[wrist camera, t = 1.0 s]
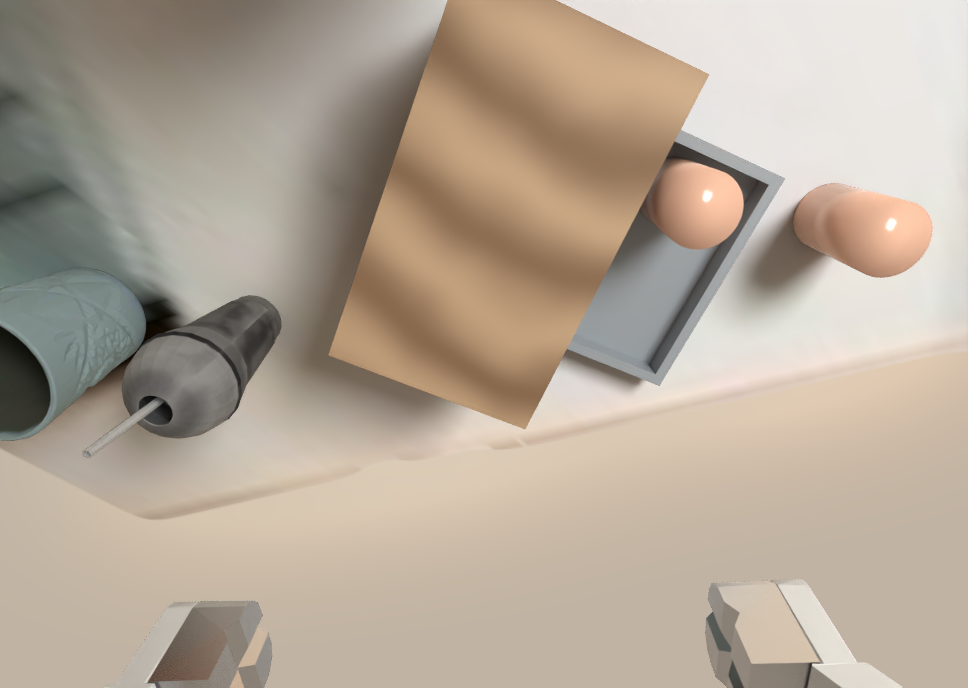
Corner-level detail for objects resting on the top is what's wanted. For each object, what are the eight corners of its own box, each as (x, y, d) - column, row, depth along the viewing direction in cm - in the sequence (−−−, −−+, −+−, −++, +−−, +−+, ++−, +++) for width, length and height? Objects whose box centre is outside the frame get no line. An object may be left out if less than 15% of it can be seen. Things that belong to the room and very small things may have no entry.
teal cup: (168, 364, 51) (77, 437, 40) (60, 372, 52) (-60, 446, 41) (130, 252, 47) (17, 299, 36) (14, 262, 48) (-133, 311, 37)
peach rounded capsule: (818, 172, 43) (883, 187, 36) (874, 198, 44) (949, 219, 37) (780, 233, 45) (834, 260, 38) (834, 258, 46) (898, 288, 38)
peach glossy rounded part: (655, 145, 42) (688, 155, 35) (715, 172, 43) (759, 188, 35) (623, 209, 44) (647, 231, 37) (680, 234, 45) (716, 261, 37)
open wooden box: (475, 1, 39) (462, -45, 27) (644, 81, 41) (709, 74, 28) (374, 285, 48) (328, 355, 35) (519, 342, 49) (525, 429, 36)
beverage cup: (304, 358, 50) (191, 507, 32) (223, 360, 51) (65, 510, 32) (289, 277, 48) (155, 391, 29) (203, 281, 48) (17, 395, 30)
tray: (589, 90, 41) (595, 90, 39) (769, 174, 43) (785, 178, 41) (492, 308, 48) (492, 319, 46) (651, 372, 50) (659, 385, 48)
